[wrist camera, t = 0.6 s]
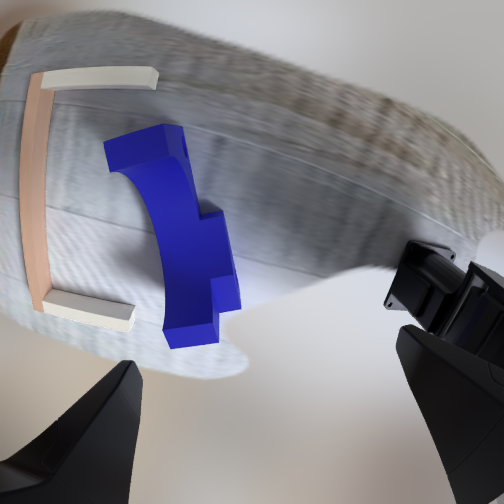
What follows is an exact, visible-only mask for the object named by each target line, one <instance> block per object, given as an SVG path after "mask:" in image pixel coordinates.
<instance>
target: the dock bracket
mask: <svg viewBox="0 0 504 504" xmlns="http://www.w3.org/2000/svg"><path fill="white" fill-rule="evenodd" d="M158 77H159V73H158V72H157V71H156V70H155V69H154V68H153V67H147V66H103V67H84V68H72V69H62V70H54V71H46V72H39V73H33V74H32V75H31V80H30V84H29V89H28V95H27V100H26V107H25V113H24V121H23V129H22V139H21V151H20V174H19V197H20V220H21V233H22V243H23V252H24V259H25V266H26V273H27V279H28V284H29V289H30V294H31V299H32V304H33V308H34V310H37V311H40V312H44V313H47V314H51V315H54V316H58V317H62V318H65V319H69V320H73V321H77V322H81V323H85V324H90V325H94V326H98V327H103V328H107V329H112V330H117V331H122V332H127V333H130V331H131V328H132V326H133V323H134V320H135V306H132V305H127V304H121V303H116V302H111V301H106V300H101V299H96V298H91V297H87V296H82V295H78V294H73V293H69V292H64V291H60V290H56V289H52V283H51V276H50V268H49V260H48V249H47V237H46V218H45V176H46V157H47V145H48V135H49V126H50V119H51V112H52V106H53V100H54V94H55V91H59V90H75V89H142V90H156V86H157V81H158Z"/></svg>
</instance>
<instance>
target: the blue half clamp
mask: <svg viewBox="0 0 504 504" xmlns="http://www.w3.org/2000/svg"><path fill="white" fill-rule="evenodd" d="M103 144H104V149H105V153H106V158H107V162H108V167H109V171H110V172H120V173H122V174H124V175H126V176H127V177H128V178H129V179H130V180H131V181H132V182H133V183H134V185H135V186H136V187H137V189H138V191H139V192H140V194H141V196H142V198H143V200H144V202H145V204H146V207H147V209H148V212H149V214H150V217H151V220H152V223H153V226H154V230H155V233H156V237H157V241H158V245H159V250H160V255H161V261H162V267H163V274H164V284H165V317H164V324H163V329H162V331H163V333H164V335H165V338H166V340H167V342H168V344H169V347H170V349H175V348H183V347H191V346H199V345H206V344H212V343H219V313H222V312H228V311H234V310H239V309H241V299H240V289H239V284H238V279H237V274H236V270H235V265H234V260H233V256H232V251H231V246H230V241H229V237H228V232H227V227H226V222H225V217H224V212H223V210H222V211H217V212H212V213H207V214H202V215H201V212H200V208H199V203H198V199H197V194H196V190H195V185H194V180H193V176H192V171H191V166H190V161H189V156H188V152H187V147H186V142H185V136H184V131H183V127H181V126H175V125H168V124H160V125H157V126H153V127H149V128H146V129H142V130H139V131H136V132H133V133H129V134H126V135H123V136H120V137H117V138H114V139H111V140H108V141H105V142H103Z"/></svg>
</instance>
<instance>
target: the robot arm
mask: <svg viewBox="0 0 504 504" xmlns="http://www.w3.org/2000/svg"><path fill="white" fill-rule="evenodd" d="M412 246H413V248H411V247H412ZM455 257H456V253H455V252H453V251H452V250H448V249H444V248H441V247H437V246H433V245H429V244H425V243H421V242H417V241H409V242H408V244H407V246H406V249H405V251H404V254H403V257H402V259H401V262H400V265H399V267H398V270H397V272H396V275H395V277H394V280H393V282H392V285H391V287H390V289H389V292H388V294H387V297H386V299H385V301H384V306H385V308H386V309H388V310H405V311H408V312H409V313H410V314H411V315H412V317H414V318H415V319H416V320H417V321H418V323H419V324H420V325H421V326H422V327H423V328H424V330H425V331H424V330H422V329H420V328H418V327H416V326H414V325H412V324H409V325H405V326H402V327H401V328H400V330H399V334H398V338H397V342H396V351H397V354H398V356H399V359H400V362H401V365H402V367H403V370H404V373H405V376H406V379H407V382H408V384H409V387H410V389H411V391H412V393H413V395H414V397H415V399H416V402H417V404H418V406H419V408H420V410H421V413H422V415H423V417H424V419H425V422H426V424H427V426H428V429H429V431H430V433H431V436H432V438H433V440H434V443H435V445H436V448H437V450H438V453H439V456H440V458H441V461H442V463H443V466H444V469H445V471H446V474H447V475H448V476H447V477H448V480H449V482H450V486H451V488H452V491H453V494H454V497H455V500H456V504H488V503H490V502H491V501H493V500H495V499H496V500H497V502H498V504H504V277H502V276H501V275H499V274H498V273H496V272H494V271H492V270H490V269H487V268H486V267H483V266H481V265H479V264H477V263H475V262H472V261H471V262H470V264H469V266H468V268H469V269H468V271H467V273H465V272H464V271H462V270H461V269H460V268H458V267H457V266H456V265H454V264H453V262H454V260H455ZM389 303H390V304H389ZM388 304H389V305H388ZM142 387H143V379H142V376H141V374H140V372H139V370H138V368H137V365H136V363H135V362H134V361H133V360H122V361H121V362H120V363H118V364H117V365H116V366H115V367H114V368H113V369H112V370H111V371H110V372H109V373H107V374H106V375H105V376H104V377H103V378H102V379H101V380H100V381H99V382H98V383H96V384H95V385H94V386H93V387H92V388H91V389H90V390H89V391H88V392H87V393H85V394H84V395H83V396H82V397H81V398H80V399H79V400H78V401H77V402H76V403H75V404H73V405H72V406H71V407H70V408H69V409H68V410H67V411H66V412H65V413H64V414H63V415H61V417H59V418H58V421H57V420H56V421H55V422H54V423H53V424H51V426H49V427H48V428H47V429H46V430H45V431H44V432H42V433H41V434H40V435H39V436H38V437H36V438H35V439H34V440H32V441H31V442H30V443H29V444H27V445H26V446H24V447H23V448H22V449H20V450H19V451H18V452H16V453H15V454H14V455H12V456H11V457H9V458H8V459H6V460H3V461H0V504H128V500H129V492H130V483H131V476H132V468H133V460H134V454H135V448H136V441H137V436H138V429H139V424H140V415H141V400H142Z"/></svg>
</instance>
